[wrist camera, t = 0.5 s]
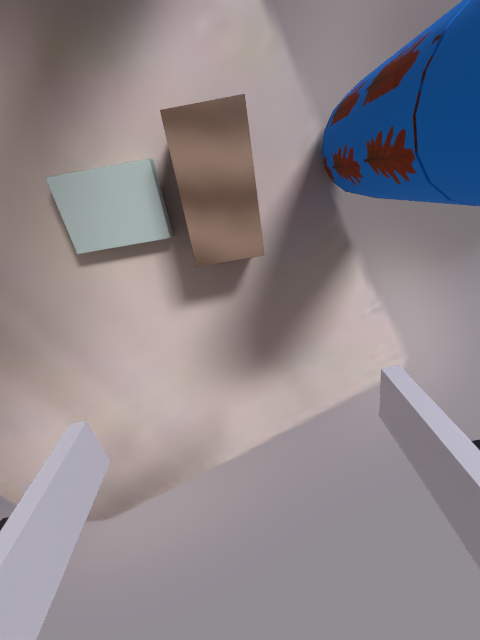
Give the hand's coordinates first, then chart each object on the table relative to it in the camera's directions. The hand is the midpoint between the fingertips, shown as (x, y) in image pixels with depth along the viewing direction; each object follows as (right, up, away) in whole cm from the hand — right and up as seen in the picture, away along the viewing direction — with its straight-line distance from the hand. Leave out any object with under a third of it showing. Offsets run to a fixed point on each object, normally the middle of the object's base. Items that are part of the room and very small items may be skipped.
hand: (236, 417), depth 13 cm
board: (-14, +18, +20) cm, 30 cm away
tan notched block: (-2, +19, +19) cm, 27 cm away
